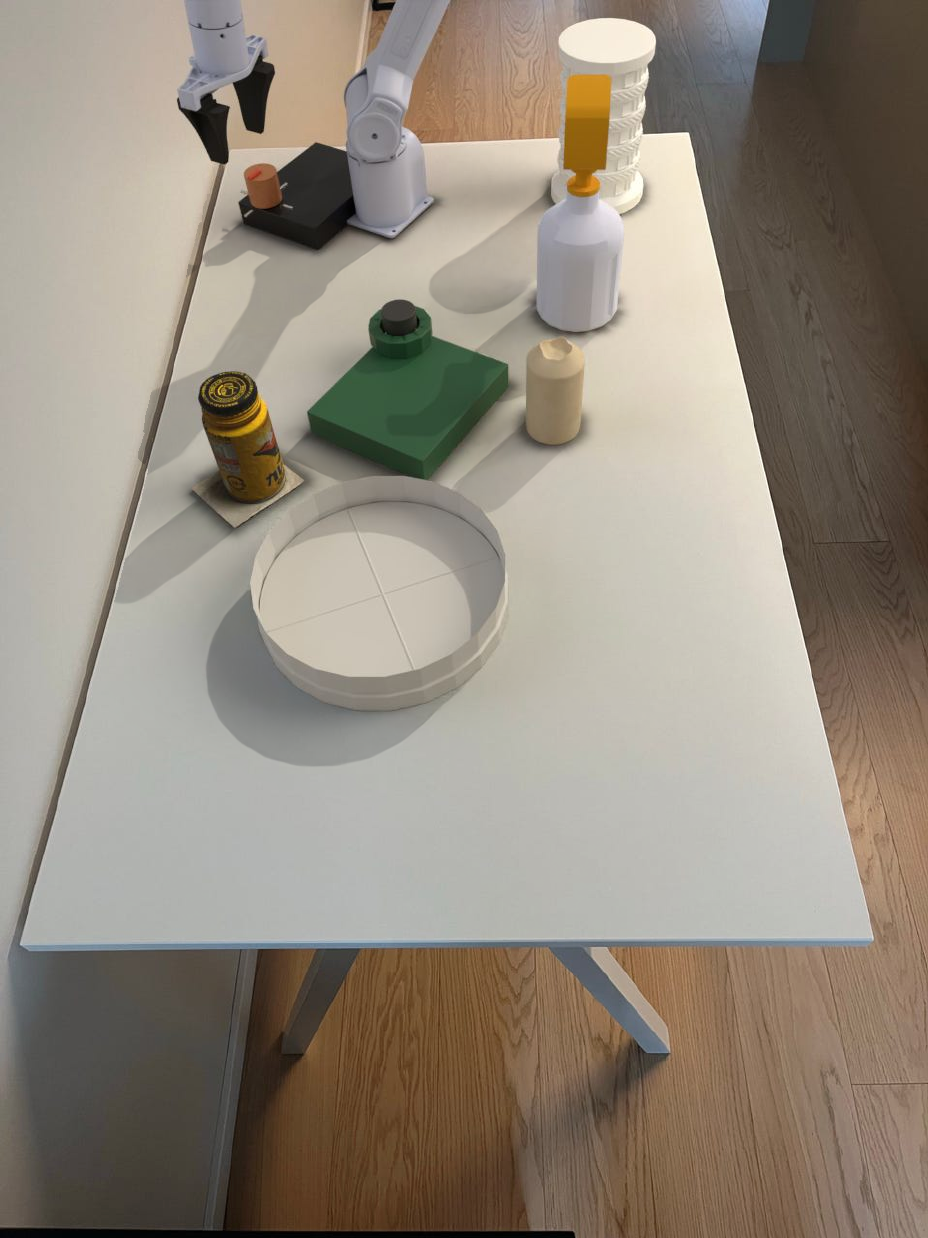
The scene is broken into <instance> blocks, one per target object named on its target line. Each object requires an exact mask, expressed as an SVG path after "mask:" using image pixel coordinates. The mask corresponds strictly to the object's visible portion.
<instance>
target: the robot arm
mask: <svg viewBox="0 0 928 1238" xmlns="http://www.w3.org/2000/svg"><path fill="white" fill-rule="evenodd" d="M450 2H451V0H395V3H394V5H393V7H392V10H391V12H390V14H389V17H388V20H387V21H386V24H385V26H384V29H383V31H382V34H381V36H380V38H379V41H378V42H377V45H376V47H375V48H374V49H373V50H372V51H371V52H369V54H367V57H366V59H365V61H364V63H363V65H362V67H360V69H359V71H357V72H356V73H355V74H353V75H352V76H351V77H350V78H349V79H348V81H347V82H346V84H345V87H344V90H343V103H344V107H345V114H346V140H345V151H347V157H348V164H349V170H350V177H351V184H352V190H353V197H354V203H355V210H356V213H355V214H354V215H353V216H352V217H351V218H350V219H348V220H347V224H348V225H349V226H352V227H356V228H359V229H362V230H365V231H367V232H371V233H373V234H376V235H379V236H383V237H386V238H389V239H395V238H396V237H397V236H398V235H399V234H400V233H401V232H402V231H403V230H404V229H406V228H407V227H408V226H409V225H410V224H411V223H412V222H413V221H414V220H416V219H417V218H418V217H419V216H420V215H421V214H422V213H423V212H424V211H426V209H428V208H430V206H431V205H432V204H433V203H434V202H435V201H434V197H433V196H429V195H428V183H427V171H426V160H425V159H426V158H425V151H424V147H423V144H422V143H421V141H420V140H419V139H420V138H418V137H417V135H416V134H415V133H414V132H413V131H411V130H410V129H409V128H406V127H404V126H403V122H404V119H405V116H406V114H407V112H408V109H409V105H410V100H411V94H412V89H413V85H414V80H415V77H416V75H417V73H418V71H419V69H420V67H421V66H422V63H423V60H424V58H425V56H426V54H427V52H428V49H429V47H430V45H431V43H432V41H433V39H434V37H435V35H436V32H437V30H438V28H439V26H440V24H441V22H442V20H443V17H444V15H445V13H446V11H447V10H448V9H447V8H448V7H449V4H450ZM183 3H184V8H185V13H186V18H187V22H188V23H187V24H188V28H189V33H190V39H191V43H192V49H193V54H191V55H190V56H189V57H188V62H189V65H190V66H191V69H190V70H189V73H188V75H187V76H186V78H185V80H184V82H183V83H182V84H181V85H180V86H179V87H177V89H176V90H177V95H178V97H177V98H176V103H177V108H178V110H179V111H180V112H181V113H182V115H184V117H185V118H186V119H187V121H188V122H189V123H190V124H191V126H192V128H193V129H194V130H195V132H196V134H197V135H198V137H199V139H200V141H201V144H202V145H203V147H204V150H205V151H206V154H207V155H208V158H209V160H210V162H213V163H216V164H220V165H228V163H229V159H230V152H229V143H228V118H229V113H230V109H231V106H229V105H226V104H223V103H219V102H217V99H216V98H214V95H213V94H214V93H215V92H217V91H218V90H219V89H221V88H224V87H226V86H229V85H231V84H232V86H233V88H234V89H233V90H234V91H235V94H236V97H237V100H238V105H239V109H240V113H241V118H242V122H243V125H244V127H245V130H246V131H248V132H251V133H256V134H259V135H262V134H264V132H265V126H266V114H267V105H268V97H269V93H270V88H271V86H272V83H273V80H274V77H275V75H276V69H275V65H274V64H273V63H271V62H268V61H264V60H265V59H266V58H267V57H268V56H269V49H268V42H267V38H266V37H264V36H260V35H256V34H252V33H251V34H250V35H248V36H247V35H246V29H245V22H244V21H245V20H244V16H243V8H242V4H241V0H183Z"/></svg>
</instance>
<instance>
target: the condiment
mask: <svg viewBox="0 0 928 1238" xmlns="http://www.w3.org/2000/svg"><path fill="white" fill-rule="evenodd" d="M197 400H198V403H199V405H200V409H201V414H202V415H201V424H202V427H203V430H204V432H205V435H206V437H207V439H208V440H207V441H208V443H209V446H210V448H211V451H212V454H213V457H214V460H215V463H216V465H217V468H218V470H217V471H216V472H215V473H213V474H211V475H210V476H208V477H207V478H205V479H202V480H201V481H199V482H198V483H196V484H195V485H193V486H192V487H191V489H192V491H194V492H195V493H196V494H197V495H198V496H199V497H200V498H201V499H202V500H203V501H204V502H205V503H206V504H207V505H208V506H209V507H211V508H212V510H214V511H215V512H216V513H217V514H218V515H220V517H222V519H224V520H225V522H228V524H230V525H231V527H233V528H234V529H235V528H237V527H238V526H240V525H241V524H242V523H244V522H247V521H248V520H249V519H250V518H251V517H254V516H255V515H257V513H259V512H260V511H262V510H264V509H265V508H268V506H270V505H272V504H273V503H275V502H277V500H280V499H281V498H282V497H284V496H285V495H287V494H288V493H290V492H292V490H294V489H296V488H297V487H298V486H300V485H301V484H302V483H303V482H304V481H305V480H304V479H303V478H302V477H300V476H299V475H298V474H297V473H296V472H294V471H293V470H292V469H290V468H289V467H288V466H287V465H286V464H284V461H283V458H282V453H281V451H280V447H279V444H278V442H277V438H276V434H275V431H274V428H273V423H272V420H271V416H270V413H269V410H268V406H267V403H266V402H265V401H264V399H263V398H262V397H261V395H260V393H259V390H258V385H257V383H256V381H255V380H254V379H253V378H252V377H251V376H249V374H247V373H245V372H241V371H236V370H235V371H233V370H231V371H230V370H229V371H222V372H219V373H216V374H213V375H211V376H209V377H208V378H206V379H205V380H204V381H203V382H202V383H201V385H200V386H199V390H198V397H197Z"/></svg>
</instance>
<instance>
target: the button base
mask: <svg viewBox="0 0 928 1238" xmlns="http://www.w3.org/2000/svg"><path fill="white" fill-rule="evenodd" d="M414 306H415V309H416V318H417V328H416V330H415V331H414V332H413V333H410V334H408V335H405V336H391V335H388V334H386V333H385V331H384V329H383V324H382V317H381V309H382V308H380V309H378V310H377V311H376V312H375V313H374V314H373V315H372V316H371V317H370V318H369V322H368V336H369V343H370V345H371V348H370V349H369V350H368V351H367V352H366V353H365V354H364V355H363V356H362V357H361V358H360V359H359V360H358V361H356V363H354V365H353V366H352V367H350V369H349V370H348V371H346V373H344V375H343V376H341V378H339V379H338V381H336V383H334V384H333V385H332V386H331V387H330V388H329V389H328V390H327V391H326V392H325V393H324V394H323V395H322V396H321V397H320V398H319V399H318V400H317V401H316V402H315V403H314V404H313V405H312V406H311V407H310V408H309V409H308V410H307V411H306V415H307V418H308V422H309V426H310V431H311V434H312V435H314V436H317V437H319V438H321V439H323V440H326V441H328V442H331V443H333V444H335V445H337V446H340V447H341V448H344V449H346V450H349V451H350V452H353V453H356V454H357V455H360V456H362V457H364V458H367V459H369V460H372V461H374V462H376V463H378V464H380V465H383V466H385V467H387V468H390V469H392V470H395V471H397V472H399V473H401V474H403V475H405V476H407V477H412V478H418V479H423V480H428V481H429V479H430V478H431V477H432V475H434V474H435V472H436V471H437V470H438V469H439V468H440V467H441V466H442V464H443V463H444V462H445V460H447V458H448V457H449V456H450V455H451V454H452V453H453V451H454V450H455V449H456V448H457V447H458V446H459V445H460V444H461V442H462V441H463V440H464V439H465V438H466V436H467V435H468V434H469V433H470V432H471V431H472V430H473V428H474V427H475V426H476V425H477V424H478V423H479V422H480V421H481V419H482V418H483V417H484V416H485V415H486V413H487V412H488V411H489V410H490V409H491V408H492V407H493V406H494V404H495V403H496V402H497V401H498V399H500V397H501V396H502V395H503V394H504V393H505V391H506V390H507V389H509V386H510V385H509V364H508V363H507V362H504V361H501V360H498V359H496V358H493V357H490V356H487V355H484V354H482V353H479V352H477V351H473V350H471V349H468V348H465V347H463V346H460V345H458V344H455V343H452V342H450V341H447V340H445V339H441V338H438V337H436V336H433V333H434V332H433V322H432V316H431V315H430V314H429V313H428V312H427V311H426V310H425V308H422V307H419V306H416V305H414Z"/></svg>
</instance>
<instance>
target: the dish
mask: <svg viewBox="0 0 928 1238" xmlns="http://www.w3.org/2000/svg"><path fill="white" fill-rule="evenodd" d="M250 576H251V577H250V582H249V584H250V585H249V586H250V593H251V600H252V609H253V611H254V613H255V616H256V618H257V625H258V631H259V632H260V635H261V638H262V640H263V643H264V645H265V647H266V649H267V651H268V652H269V655H270V657H271V659H272V661H273V664H274V665H275V667H276V668H277V669H278V671H279V672H281V673H282V674H283V676H285V677H286V678H287V680H289V681H290V683H292V684H293V685H294V686H295V687H296V688H297V689H299V690H300V691H302V692H304V693H306V694H308V695H309V696H311V697H313V698H315V699H317V700H319V701H320V702H322V703H325V704H329V705H333V706H337V707H341V708H345V709H349V710H352V711H353V710H354V711H372V712H373V711H375V712H376V711H377V712H378V711H379V712H380V711H383V712H385V711H387V712H390V711H392V712H393V711H396V710H400V709H405V708H410V707H413V706H414V707H415V706H418V705H423V704H426V703H427V704H428V702H431V701H433V700H435V699H437V698H439V697H441V696H444V694H448V693H450V692H452V691H453V690H456V689H457V688H459V687H460V686H461V685H462V684H464V683H465V682H466V681H467V680H468V679H470V678H471V677H472V676H473V675H474V674H476V673H477V672H478V671H479V670H480V669H482V668H483V666H484V665H485V663H486V662H487V661H488V659H489V657H490V656H491V655H492V654H493V652H494V651H495V649H496V648H497V646H498V645H499V644H500V642H501V638H502V635H503V632H504V629H505V627H506V624H507V620H508V617H509V574H508V572H507V568H506V553H505V549H504V546H503V543H502V540H501V537H500V534H499V531H498V529H497V528H496V527H495V525H494V524H493V523H492V521H491V520H490V519H489V517H488V516H487V514H486V513H485V512H484V511H483V509H482V508H481V507H479V506H478V505H476V504H475V503H473V502H472V501H471V500H470V499H468V498H467V497H466V496H465V495H463V494H462V493H460V492H459V491H456V490H454V489H452V488H450V487H447V486H445V485H442V484H440V483H438V482H435V481H433V480H429V479H428V480H423V479H418V478H413V477H410V476H408V475H372V476H366V477H362V478H356V479H352V480H346V481H342V482H339V483H336V484H334V485H332V486H330V487H327V488H325V489H322V490H321V491H318V492H314V493H313V494H311V495H310V496H308V497H307V498H305V499H303V501H301V502H299V503H298V504H297V505H295V506H294V507H292V508H291V509H289V510H287V512H286V513H285V514H284V515H283V516H282V517H281V518H280V519H279V520H278V521H277V522H276V524H274V526H273V527H272V528H271V529H270V530H269V531H268V532H267V534H266V536H265V538H264V540H263V542H262V543H261V545H260V547H259V549H258V551H257V553H256V555H255V556H254V562H253V566H252V572H251V575H250Z"/></svg>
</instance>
